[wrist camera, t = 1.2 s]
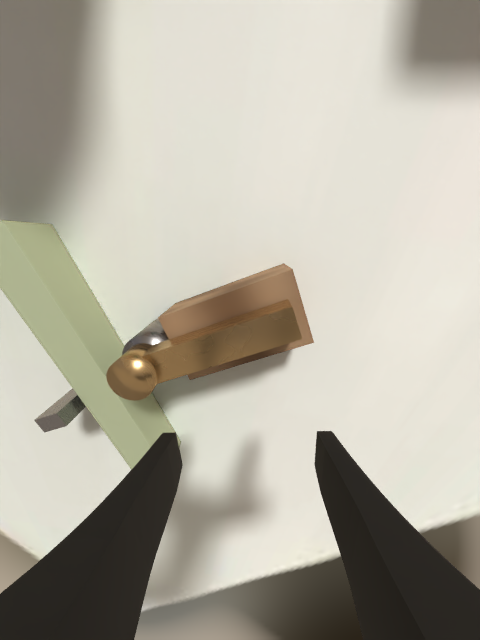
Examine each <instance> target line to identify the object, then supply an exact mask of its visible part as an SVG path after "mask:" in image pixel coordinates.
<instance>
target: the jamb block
mask: <svg viewBox="0 0 480 640" xmlns="http://www.w3.org/2000/svg"><path fill="white" fill-rule="evenodd" d="M286 299H288V300H289V302H290V303H291V305H292V307H293V310H294V313H295V316H296V320H297V323H298V326H299V329H300V333H301V336H302V339H301V340H298V341H295V342H292V343H288V344H285V345H282V346H279V347H275V348H272V349H269V350H266V351H262V352H259V353H256V354H252V355H249V356H246V357H243V358H239V359H236V360H233V361H230V362H226V363H223V364H220V365H217V366H213V367H210V368H207V369H204V370H200V371H197V372H194V373H191V374H187V375H188V377H189V379H190V380H191V379H195V378H198V377H201V376H205V375H208V374H211V373H215V372H218V371H221V370H225V369H228V368H231V367H234V366H238V365H241V364H244V363H248V362H251V361H254V360H258V359H261V358H264V357H268V356H271V355H274V354H277V353H281V352H284V351H287V350H291V349H294V348H297V347H301V346H304V345H307V344H311V343H314V341H313V338H312V334H311V331H310V328H309V324H308V321H307V317H306V314H305V310H304V307H303V304H302V300H301V297H300V293H299V290H298V286H297V283H296V279H295V276H294V273H293V269H291V268H290V267H288V266H287V265H285V264H281V265H278V266H276V267H273V268H270V269H268V270H265V271H262V272H259V273H257V274H254V275H251V276H249V277H246V278H243V279H240V280H238V281H235V282H232V283H229V284H227V285H224V286H221V287H219V288H216V289H213V290H210V291H208V292H205V293H202V294H200V295H197V296H194V297H191V298H189V299H186V300H183V301H181V302H178V303H175V304H174V305H173V306H172V307H170V308H169V309H168V310H167V311H166V312H164V313H163V314H162V315H161V316H160V317H158V319H159V321H160V323H161V325H162V327H163V329H164V331H165V333H166V335H167V337H168V339H171V338H174V337H177V336H180V335H183V334H186V333H189V332H192V331H195V330H198V329H201V328H204V327H207V326H210V325H213V324H216V323H218V322H221V321H224V320H227V319H230V318H233V317H236V316H239V315H242V314H245V313H248V312H251V311H254V310H257V309H260V308H263V307H265V306H268V305H271V304H274V303H277V302H280V301H283V300H286Z"/></svg>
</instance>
